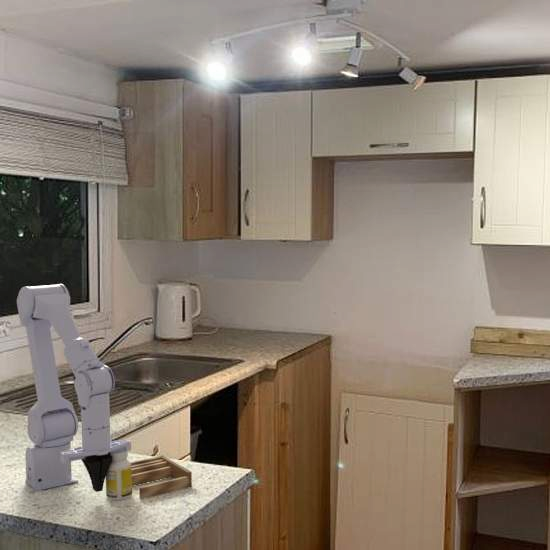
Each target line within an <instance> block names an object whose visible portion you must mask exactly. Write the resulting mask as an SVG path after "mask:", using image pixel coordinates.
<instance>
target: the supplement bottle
mask: <svg viewBox="0 0 550 550" xmlns="http://www.w3.org/2000/svg"><path fill="white" fill-rule="evenodd" d="M128 452H129V451H120V452H115V453H110V456H112V458H113V460H112V463H111V465H110V467H109V469H108V471H107V474H106V477H105V494H106V498H107V499H108V500H110V501H123V500H127V499H129V498H131V497H132V495H133V487H132V471H131V462H132V461H131V460H130V459H128V458H129V457H128V456H129V455H128V454H129V453H128Z"/></svg>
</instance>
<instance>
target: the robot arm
mask: <svg viewBox="0 0 550 550" xmlns="http://www.w3.org/2000/svg"><path fill="white" fill-rule="evenodd" d="M16 305H17V311H18V317H19V318H18V319H19V321H20V325H21V326H23V327H25V331H26V336H27V337H26V338H27V342H28V343H27V344H28V348H29V349H28V350H29V354H30V361H31V368H32V371H33V373H32V374H33V378H34V379H33V380H34V386H35V391H36V397H37V398H36V399H37V401H36V402H35V403H34V404H33V405H32V407H31V408H30V409H29V410H28V411H27V435H28V438H29V440H30V441H31V442H32V443H33V445H31V446H28V447H26V450H25V479H24V480H25V482H26V483H27V484H28V485H29V486H30V487H32V488H33V489H34V490H35V491H42V490H47V489H52V488H56V487H61V486H65V485H69V484H73V483H78V482H79V479H78V478H77V477H75V476H74V475H73V473H72V462H74V461H75V462H76V461H78V460H81V462H82V463H83V465H84V467H85V469H86V471H87V473H88V475H89V479H90V481H91V485H92V490H93V491H94V492H95V493H99V492H103V489H104V485H105V481H106V474H107V471H108V469H109V467H110V465H111V463H112V460H113V458H112V456H110V453H115V452H120V451H127V452H129V451H130V452H131V451H132V441H130V440H129V439H122V440H111V414H110V413H111V412H110V394H111V393H113V391H114V389H115V385H116V381H115V376H114V373H113V371H112V369H111V367H109V366H108V365H106V364H105V363H104V362H100V360H99V358H98V356H97V354H96V353H95V350H94V349H93V347H92V345H91V344H90V341H89V340H88V339H86V338H82V337H81V335H80V333H79V330H78V328H77V326H76V324H75V323H76V322H75V321H74V318H73V316H72V313H71V311H70V306H71V295H70V292H69V290H68V288H67V287H66V285H64V284H63V283H57V284H50V285H35V286H23V287H21V289H20V290H19V291H18V296H17V298H16ZM51 327H53V329H54V330H55V331H56V333H57V335H58V336H59V338H60V339H61V340H62V343H63V344H64V348H63V351H62V352H63V356H64V357H65V360H66V361H67V363H68V366H69V367H70V369H71V371H72V374H73V375H74V377H75V380H74V383H73V385H74V390H75V393H76V395H77V402H78V405H79V406H80V417H81V418H80V419H81V421H80V422H81V445H80V446H77V447H74V448H71V442H73V441H74V437H75V436H76V435H77V433H78V431H79V427H80V425H79V419H78V416H77V414H76V412H75V409H74V406H73V402H71V401H69V400H68V399H66V398H64V397H63V396H62V393H61V387H60V386H61V385H60V380H59V374H58V370H57V369H58V368H57V363H56V358H55V357H56V356H55V352H54V346H53V344H54V343H53V338H52V333H51ZM52 411H56V412H52ZM48 412H50V413H48Z"/></svg>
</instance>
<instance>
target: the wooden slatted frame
mask: <svg viewBox="0 0 550 550" xmlns="http://www.w3.org/2000/svg"><path fill="white" fill-rule="evenodd" d="M130 462H131V471H132V486H133V487H135V486H134V485H137V486H139V487H138V490H139V491H138V492H139V493H138V495H139V499H140V500H144V498H145V499H148V498H153V497H156V496H161V495H165V494H168V493H169V494H170V493H174V492H177V491H181V490H184V489H190V488H192V487H193V484H192V483H193V480H192V477H193V476H192V471H191V470H189V469H187V468H186V467H184V466H183V465H180V464H179V463H177V462H175V461H173V460H171V459H170V458H168V457H166V456H164V455H157V456H153V457H148V458H144V459H139V460H135V461H130ZM169 477H172V479H170V478H169ZM164 478H167V479H168V480H165V479H164ZM173 478H174V479H173ZM160 479H163V480H164V481H163V480H162V481H161V480H160ZM156 480H159V481H158V482H157V481H156ZM152 481H154V482H156V483H153V482H152ZM147 482H150V483H151V484H148V483H147ZM143 483H146V485H144V484H143ZM139 484H142V485H143V486H140V485H139ZM147 484H148V485H147Z"/></svg>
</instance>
